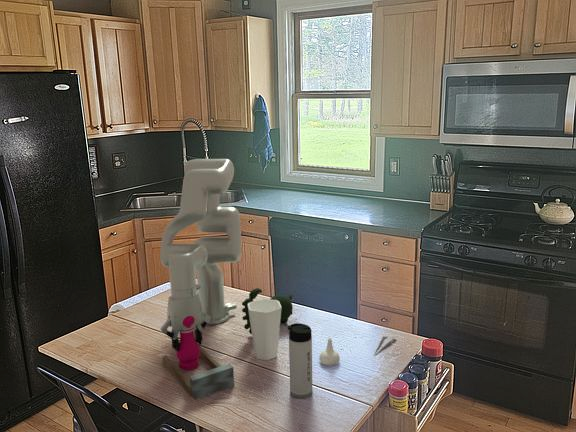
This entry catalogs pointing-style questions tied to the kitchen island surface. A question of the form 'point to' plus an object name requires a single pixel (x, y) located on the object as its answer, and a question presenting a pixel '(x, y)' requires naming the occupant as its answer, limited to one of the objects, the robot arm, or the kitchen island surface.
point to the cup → (265, 327)
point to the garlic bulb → (329, 355)
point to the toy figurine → (284, 300)
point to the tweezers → (385, 345)
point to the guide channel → (204, 377)
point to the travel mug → (300, 360)
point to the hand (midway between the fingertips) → (187, 345)
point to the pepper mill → (188, 347)
